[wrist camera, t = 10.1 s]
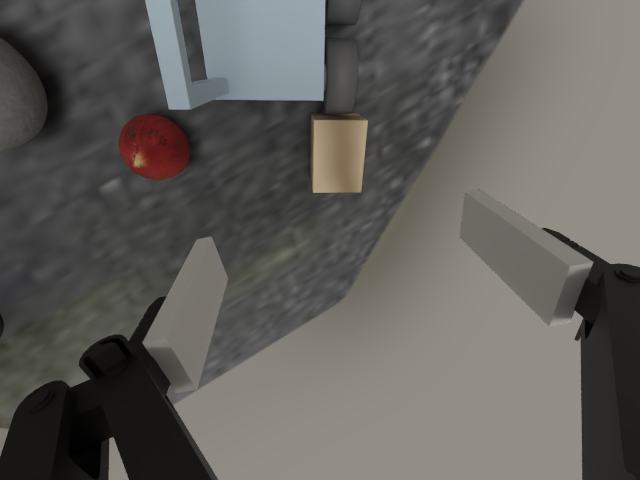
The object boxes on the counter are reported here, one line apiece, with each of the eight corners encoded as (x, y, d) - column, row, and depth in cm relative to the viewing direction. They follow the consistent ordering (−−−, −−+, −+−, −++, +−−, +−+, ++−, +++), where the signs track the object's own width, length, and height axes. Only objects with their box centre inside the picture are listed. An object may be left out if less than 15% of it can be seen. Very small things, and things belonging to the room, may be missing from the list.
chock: (310, 177, 35) (313, 192, 31) (310, 112, 31) (313, 120, 27) (352, 176, 35) (361, 192, 31) (357, 113, 32) (367, 120, 28)
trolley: (228, 109, 30) (168, 151, 15) (203, -94, 23) (40, -389, 8) (345, 109, 31) (396, 150, 16) (356, -85, 24) (464, -334, 9)
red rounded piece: (129, 116, 30) (81, 131, 23) (185, 104, 30) (153, 115, 23) (155, 171, 33) (120, 199, 26) (206, 161, 33) (184, 186, 26)
